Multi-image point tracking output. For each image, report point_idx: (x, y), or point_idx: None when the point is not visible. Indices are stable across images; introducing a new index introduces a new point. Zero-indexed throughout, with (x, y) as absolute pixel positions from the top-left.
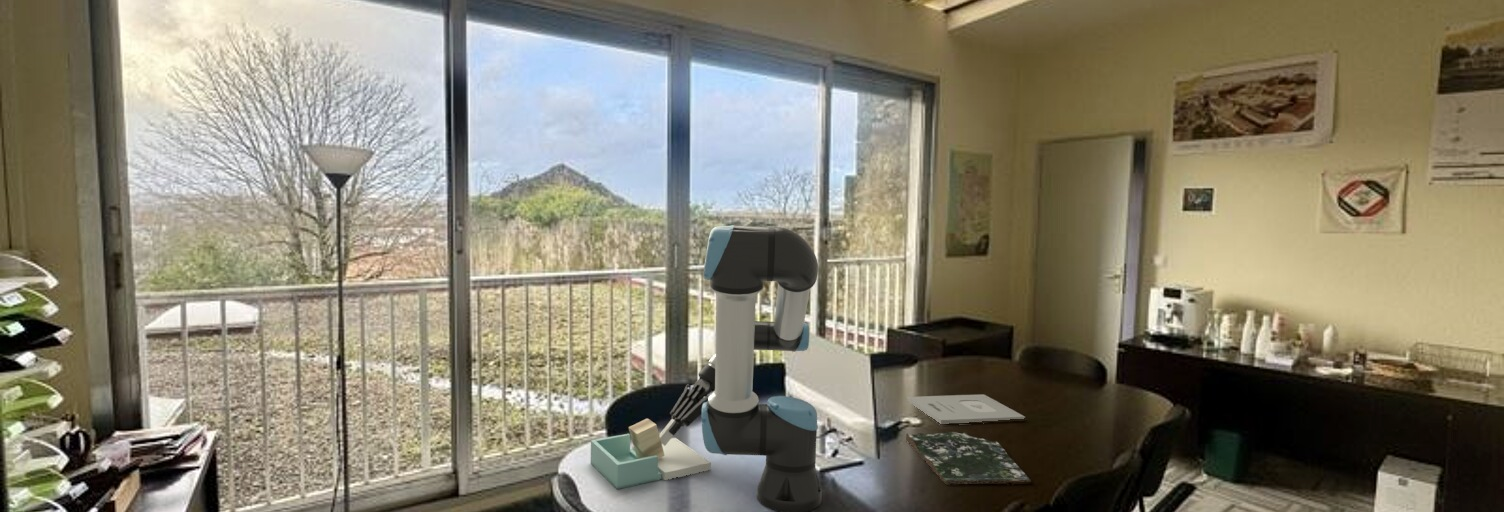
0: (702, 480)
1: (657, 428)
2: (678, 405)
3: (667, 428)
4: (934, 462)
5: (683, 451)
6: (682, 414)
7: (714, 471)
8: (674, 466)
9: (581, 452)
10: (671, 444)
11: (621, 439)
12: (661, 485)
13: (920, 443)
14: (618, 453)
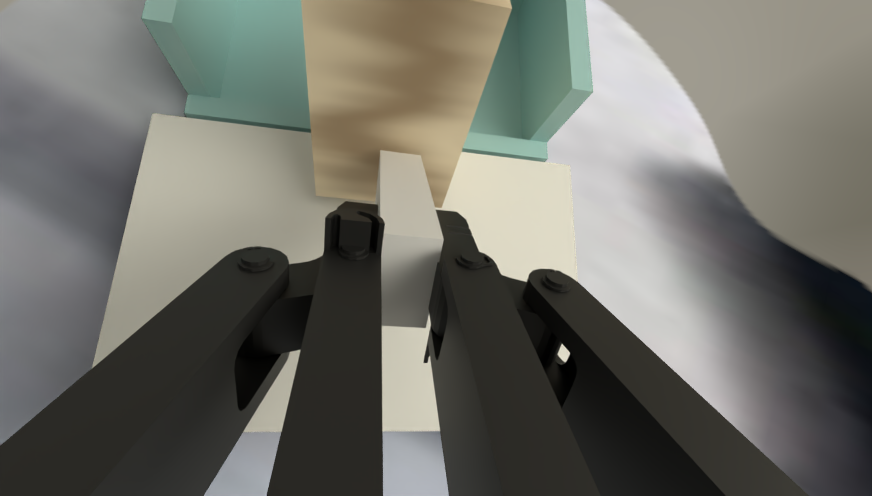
0: (16, 298)
1: (303, 12)
2: (605, 380)
3: (387, 189)
4: None
5: None
6: (327, 300)
7: None
8: (192, 197)
9: (637, 35)
10: None
11: (559, 54)
12: (133, 97)
13: None
14: (527, 88)
